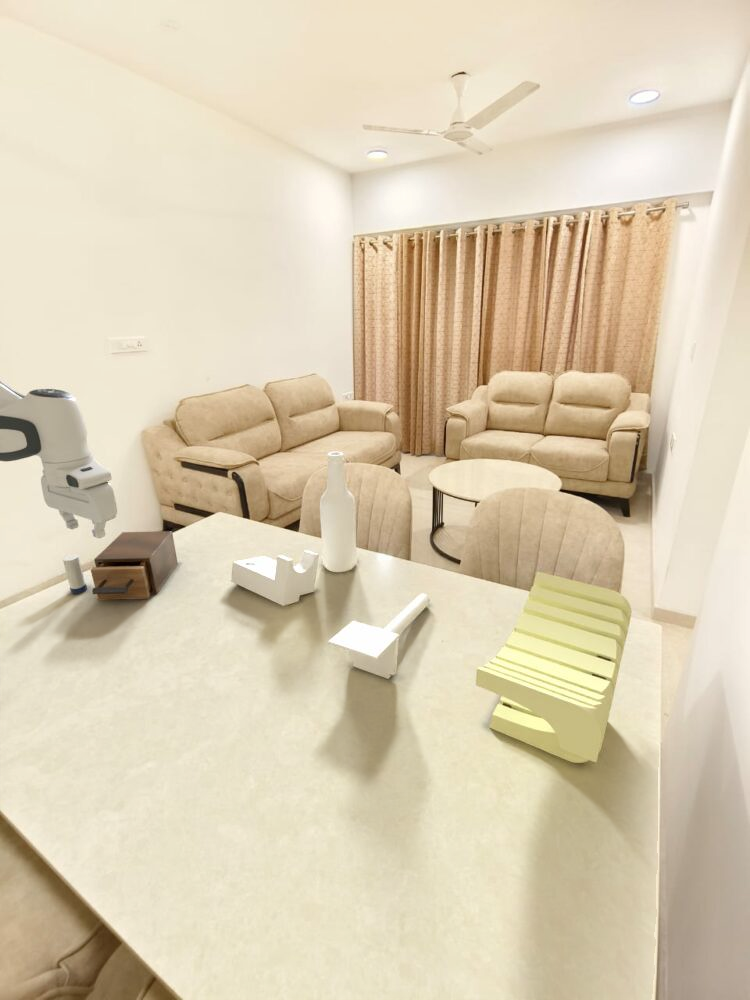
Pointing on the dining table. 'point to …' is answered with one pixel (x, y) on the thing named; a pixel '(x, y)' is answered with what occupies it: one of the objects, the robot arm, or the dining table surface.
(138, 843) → the dining table surface
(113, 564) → the drawer
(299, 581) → the white cradle stand
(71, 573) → the tube
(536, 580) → the slatted curved stool
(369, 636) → the white block on rod
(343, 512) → the alcohol
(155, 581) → the cabinet
